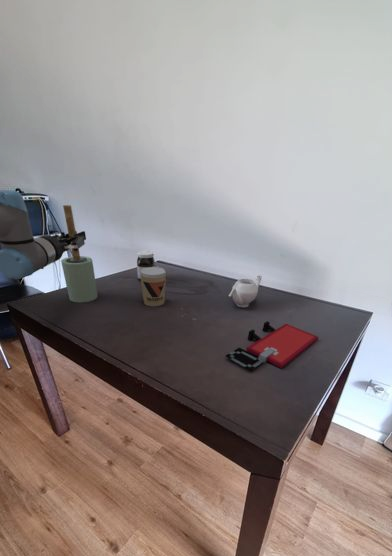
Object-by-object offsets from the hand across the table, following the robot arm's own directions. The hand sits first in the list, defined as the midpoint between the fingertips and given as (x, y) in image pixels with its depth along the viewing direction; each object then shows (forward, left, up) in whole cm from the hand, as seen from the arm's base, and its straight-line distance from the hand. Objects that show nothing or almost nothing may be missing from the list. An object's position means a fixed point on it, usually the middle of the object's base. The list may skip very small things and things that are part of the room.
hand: (80, 235), depth 101 cm
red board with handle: (+70, -24, -21) cm, 77 cm away
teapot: (+60, +5, -22) cm, 64 cm away
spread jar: (+18, +21, -22) cm, 35 cm away
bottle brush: (0, -5, -14) cm, 15 cm away
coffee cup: (+27, -2, -22) cm, 35 cm away
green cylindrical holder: (0, -5, -21) cm, 22 cm away
